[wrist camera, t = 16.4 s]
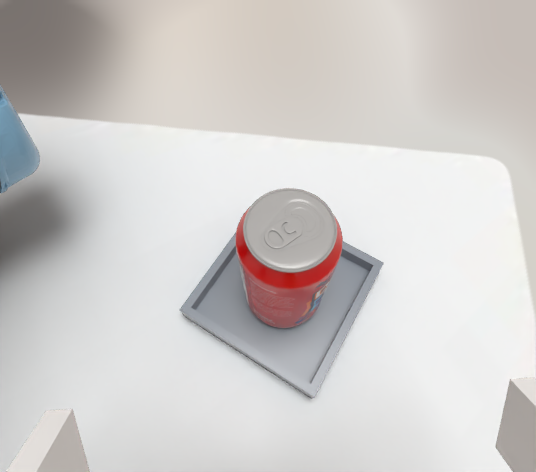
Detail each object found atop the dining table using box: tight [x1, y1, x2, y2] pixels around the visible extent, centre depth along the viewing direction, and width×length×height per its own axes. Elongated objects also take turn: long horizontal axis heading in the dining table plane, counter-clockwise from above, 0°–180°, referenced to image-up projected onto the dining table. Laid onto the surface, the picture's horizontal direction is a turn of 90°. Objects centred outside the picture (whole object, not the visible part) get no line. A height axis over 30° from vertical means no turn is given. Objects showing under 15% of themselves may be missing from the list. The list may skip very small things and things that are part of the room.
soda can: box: [235, 188, 343, 328], centre depth 33 cm, size 8×8×15 cm
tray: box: [180, 233, 383, 398], centre depth 39 cm, size 15×15×2 cm
